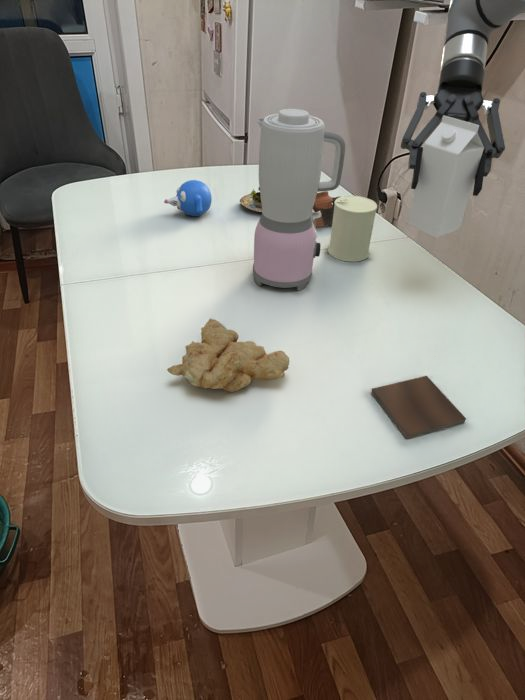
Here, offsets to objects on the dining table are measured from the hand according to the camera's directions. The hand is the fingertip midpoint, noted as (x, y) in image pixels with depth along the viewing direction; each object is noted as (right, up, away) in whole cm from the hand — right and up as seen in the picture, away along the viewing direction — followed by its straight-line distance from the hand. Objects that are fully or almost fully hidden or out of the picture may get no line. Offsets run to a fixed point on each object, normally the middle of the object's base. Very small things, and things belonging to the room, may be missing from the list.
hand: (445, 189), depth 89 cm
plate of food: (-32, +9, +46) cm, 56 cm away
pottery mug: (-17, +5, +41) cm, 45 cm away
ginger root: (-38, -32, -7) cm, 50 cm away
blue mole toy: (-51, +6, +40) cm, 65 cm away
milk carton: (0, -5, +8) cm, 9 cm away
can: (-12, -6, +27) cm, 31 cm away
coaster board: (-9, -37, -12) cm, 39 cm away
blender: (-26, -13, +17) cm, 34 cm away
